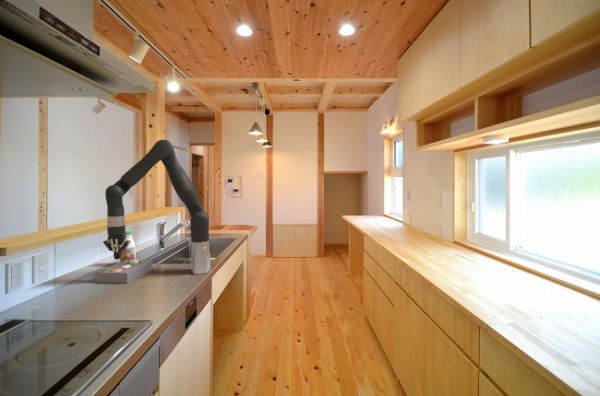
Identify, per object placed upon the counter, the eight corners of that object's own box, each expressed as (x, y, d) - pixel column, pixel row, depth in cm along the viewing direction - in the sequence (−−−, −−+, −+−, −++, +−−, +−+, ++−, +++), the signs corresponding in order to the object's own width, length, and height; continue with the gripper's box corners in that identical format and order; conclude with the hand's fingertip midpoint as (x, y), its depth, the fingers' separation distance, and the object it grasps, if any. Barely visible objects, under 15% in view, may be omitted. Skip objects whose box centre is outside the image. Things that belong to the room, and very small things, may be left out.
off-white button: (132, 272, 144) (132, 264, 144) (127, 275, 140) (127, 267, 140) (124, 271, 145) (124, 264, 144) (119, 274, 140) (118, 267, 140)
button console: (152, 269, 152) (152, 260, 152) (127, 283, 132) (127, 273, 131) (125, 268, 153) (124, 260, 153) (95, 282, 132) (95, 272, 132)
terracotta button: (124, 276, 138) (124, 268, 138) (118, 279, 133) (118, 271, 133) (116, 276, 138) (116, 268, 138) (109, 279, 134) (109, 271, 133)
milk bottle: (121, 263, 162) (121, 230, 161) (136, 262, 165) (136, 230, 164) (119, 267, 155) (118, 233, 154) (134, 266, 158) (134, 232, 157)
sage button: (140, 265, 151) (140, 258, 151) (135, 268, 146) (135, 261, 146) (132, 265, 151) (132, 258, 151) (127, 268, 147) (127, 260, 146)
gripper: (134, 223, 138) (135, 257, 139) (109, 223, 138) (110, 256, 139) (124, 226, 130) (125, 261, 131) (97, 225, 131) (98, 261, 132)
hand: (117, 259), depth 135 cm, fingers closed
